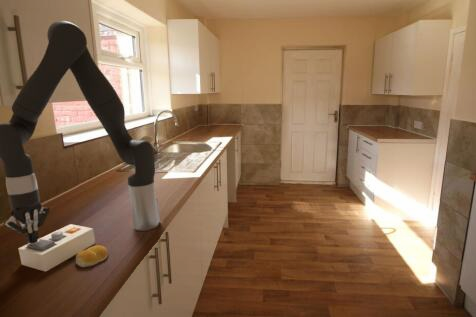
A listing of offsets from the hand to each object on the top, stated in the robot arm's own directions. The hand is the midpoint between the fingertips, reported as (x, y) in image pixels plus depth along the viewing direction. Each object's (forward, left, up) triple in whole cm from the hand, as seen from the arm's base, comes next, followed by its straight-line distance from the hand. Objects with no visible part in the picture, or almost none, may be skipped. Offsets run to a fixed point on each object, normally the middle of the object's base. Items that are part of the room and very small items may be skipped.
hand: (33, 242), depth 96 cm
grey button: (-6, +3, -2) cm, 7 cm away
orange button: (-11, +3, -3) cm, 12 cm away
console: (-6, +3, -6) cm, 9 cm away
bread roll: (-7, +17, -7) cm, 19 cm away
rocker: (0, +3, 0) cm, 3 cm away
